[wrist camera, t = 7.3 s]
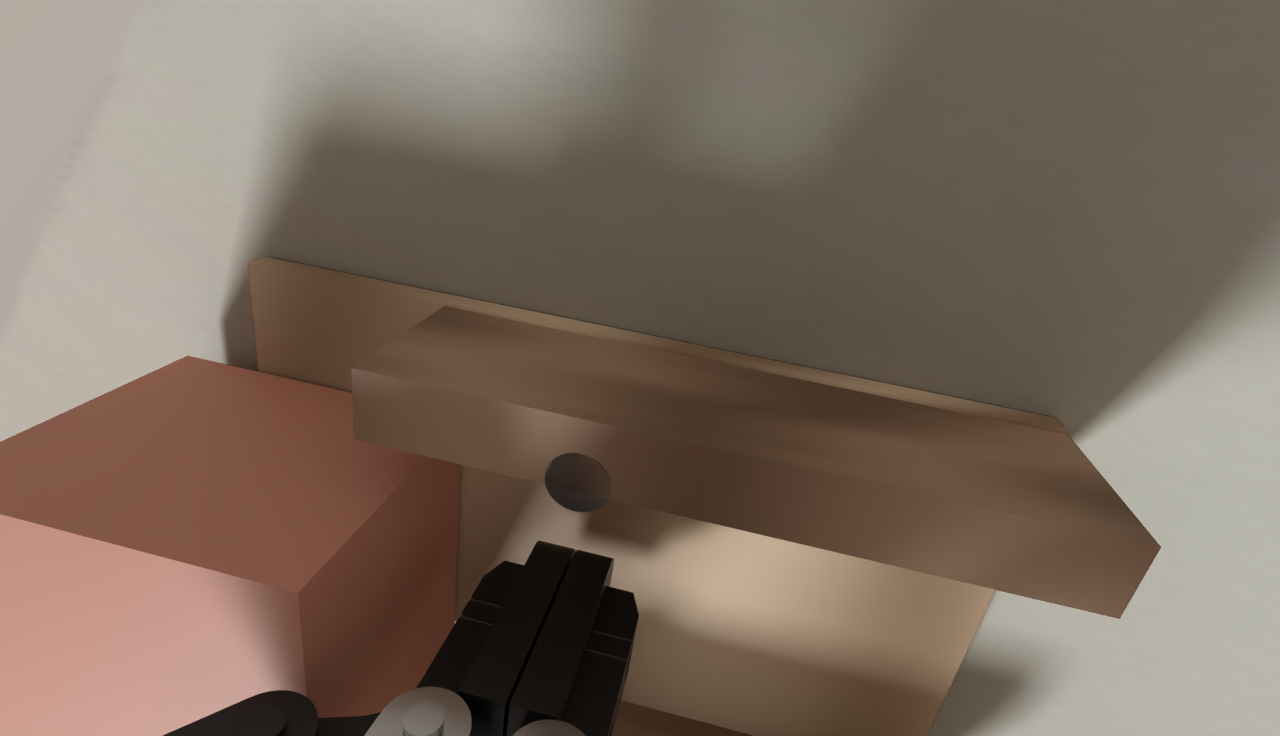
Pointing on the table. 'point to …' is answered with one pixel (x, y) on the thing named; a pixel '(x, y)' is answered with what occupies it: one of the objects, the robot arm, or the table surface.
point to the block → (215, 556)
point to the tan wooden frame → (721, 498)
